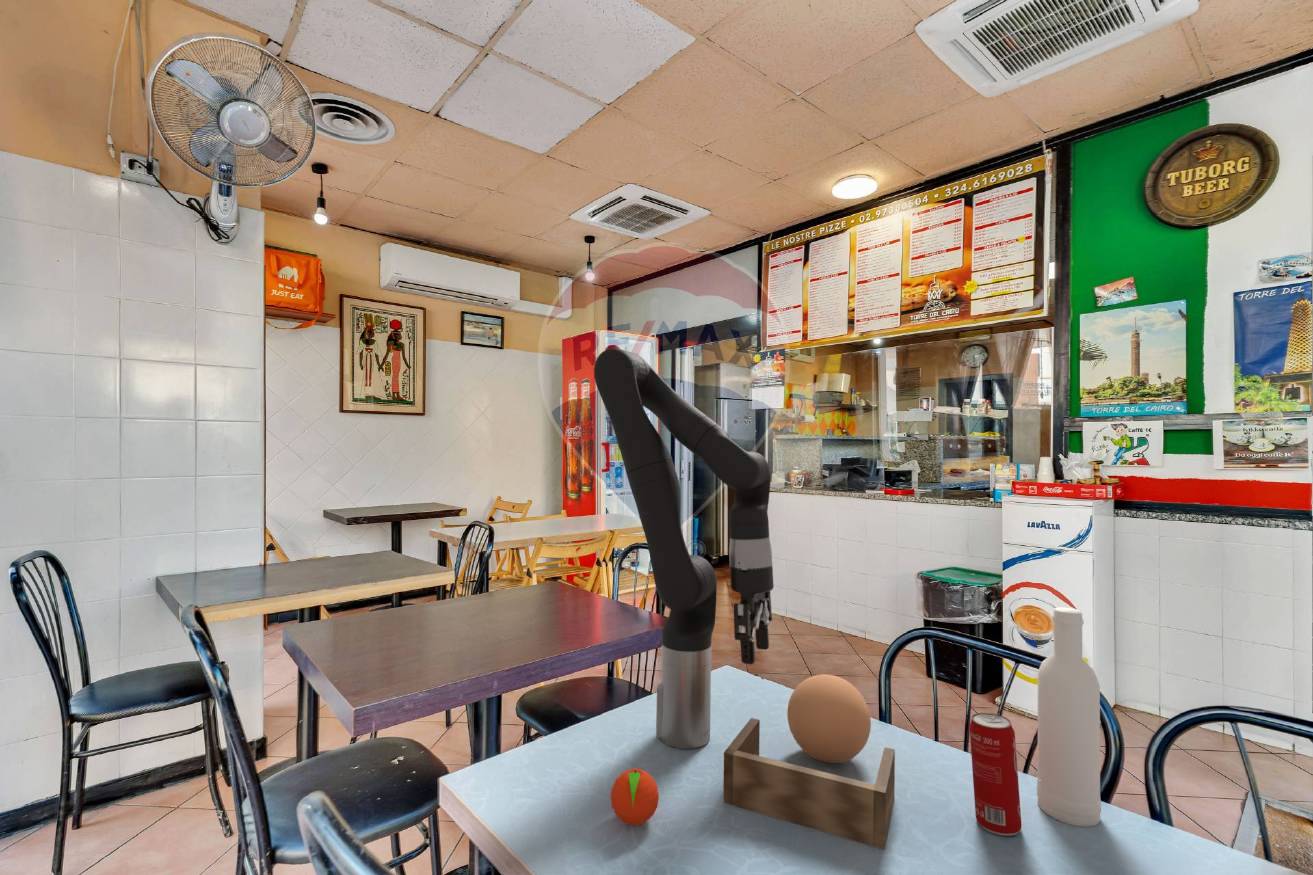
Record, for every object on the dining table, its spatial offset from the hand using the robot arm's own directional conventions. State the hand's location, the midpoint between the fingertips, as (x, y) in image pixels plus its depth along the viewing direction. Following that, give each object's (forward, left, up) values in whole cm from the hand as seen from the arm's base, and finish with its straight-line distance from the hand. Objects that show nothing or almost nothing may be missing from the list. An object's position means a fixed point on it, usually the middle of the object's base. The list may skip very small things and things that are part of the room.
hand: (755, 655), depth 106 cm
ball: (+12, +5, -10) cm, 16 cm away
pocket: (+12, -9, -17) cm, 23 cm away
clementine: (-9, -27, -17) cm, 34 cm away
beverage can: (+37, -3, -17) cm, 41 cm away
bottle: (+47, +6, -17) cm, 50 cm away
